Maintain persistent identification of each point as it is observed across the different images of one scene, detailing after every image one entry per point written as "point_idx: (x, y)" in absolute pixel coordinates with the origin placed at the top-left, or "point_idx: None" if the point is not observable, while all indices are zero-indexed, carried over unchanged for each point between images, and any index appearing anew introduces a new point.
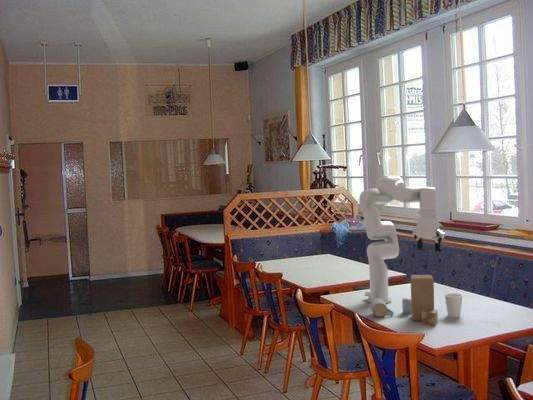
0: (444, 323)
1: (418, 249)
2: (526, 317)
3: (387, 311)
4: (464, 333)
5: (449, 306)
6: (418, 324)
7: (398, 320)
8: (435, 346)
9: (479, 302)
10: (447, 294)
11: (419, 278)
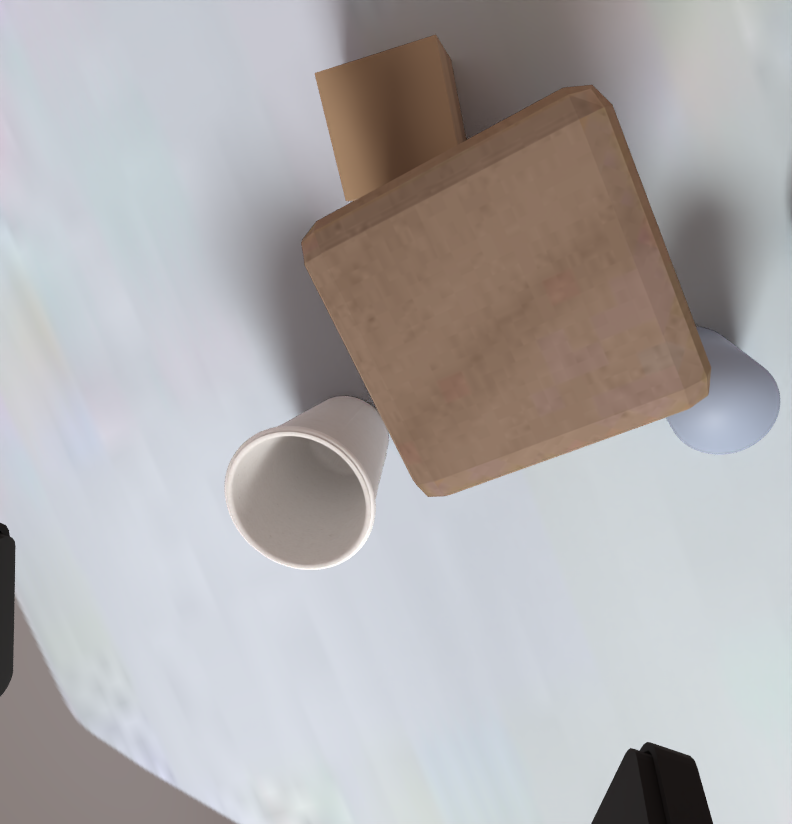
0: (322, 203)
1: (654, 744)
2: None
3: None
4: (100, 4)
5: (335, 413)
6: (483, 63)
7: (690, 97)
8: None
9: (340, 791)
10: (362, 527)
11: (479, 161)
